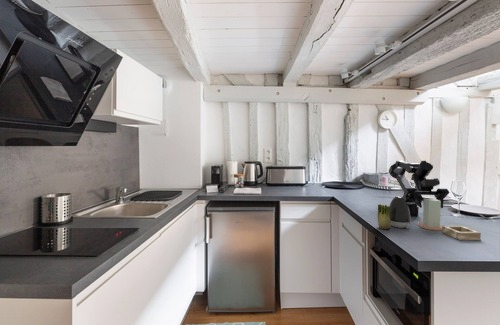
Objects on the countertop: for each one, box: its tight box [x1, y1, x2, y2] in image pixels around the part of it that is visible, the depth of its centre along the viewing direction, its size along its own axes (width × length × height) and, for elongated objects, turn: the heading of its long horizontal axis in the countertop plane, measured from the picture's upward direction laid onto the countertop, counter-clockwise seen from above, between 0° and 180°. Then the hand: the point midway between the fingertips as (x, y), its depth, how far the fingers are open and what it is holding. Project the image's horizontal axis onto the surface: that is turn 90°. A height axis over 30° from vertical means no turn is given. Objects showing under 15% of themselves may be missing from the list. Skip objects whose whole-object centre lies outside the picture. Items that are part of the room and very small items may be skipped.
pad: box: [418, 221, 443, 232], centre depth 115 cm, size 10×10×1 cm
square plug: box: [422, 198, 442, 227], centre depth 115 cm, size 5×5×13 cm
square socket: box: [441, 225, 482, 241], centre depth 104 cm, size 9×9×3 cm
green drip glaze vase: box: [377, 203, 391, 230], centre depth 114 cm, size 6×5×12 cm
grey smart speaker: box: [388, 195, 412, 229], centre depth 117 cm, size 10×10×15 cm
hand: (431, 207), depth 115 cm, fingers open, 9 cm apart
